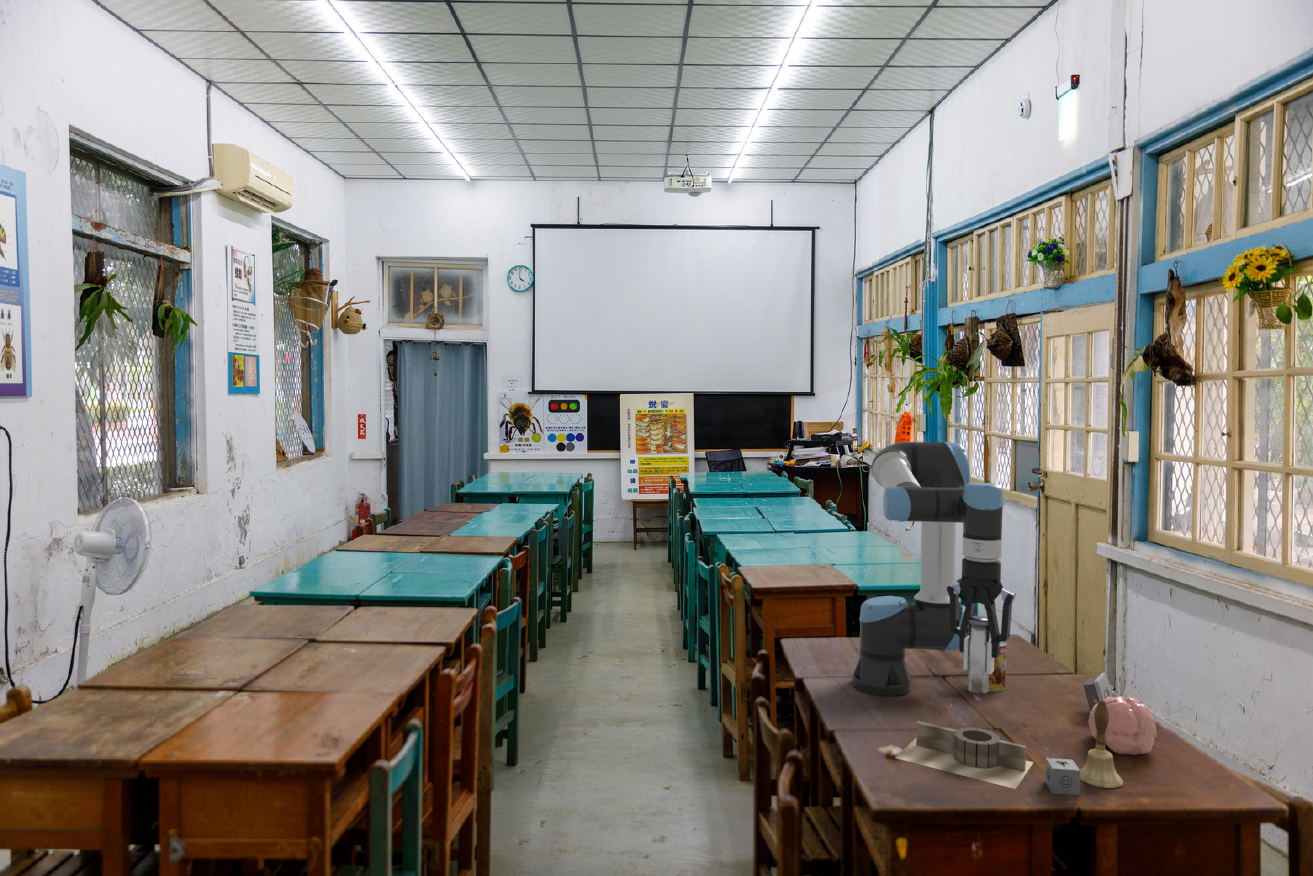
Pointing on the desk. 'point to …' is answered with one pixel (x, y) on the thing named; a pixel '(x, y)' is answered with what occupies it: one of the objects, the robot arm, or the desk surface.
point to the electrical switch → (1097, 689)
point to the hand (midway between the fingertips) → (978, 670)
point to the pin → (978, 654)
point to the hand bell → (1100, 756)
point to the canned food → (998, 671)
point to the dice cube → (1062, 776)
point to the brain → (1127, 726)
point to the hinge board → (961, 769)
